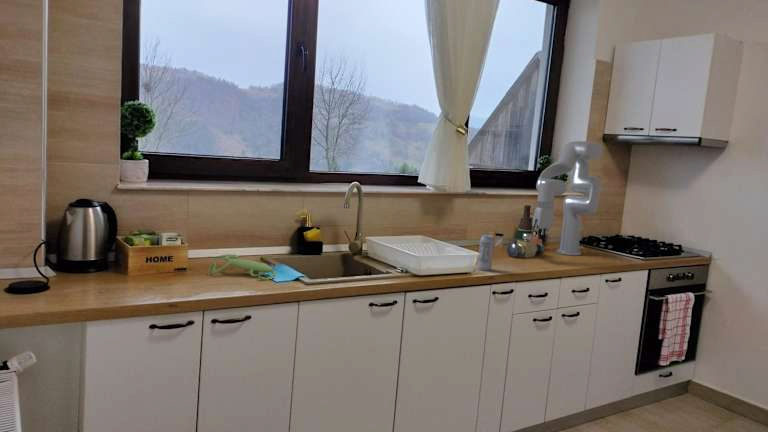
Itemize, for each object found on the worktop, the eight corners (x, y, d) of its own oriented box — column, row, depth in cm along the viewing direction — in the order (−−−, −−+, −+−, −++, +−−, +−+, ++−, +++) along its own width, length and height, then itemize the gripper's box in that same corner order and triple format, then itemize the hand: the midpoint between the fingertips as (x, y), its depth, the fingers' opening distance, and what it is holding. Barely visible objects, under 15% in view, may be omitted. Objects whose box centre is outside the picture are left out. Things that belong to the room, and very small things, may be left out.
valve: (533, 253, 311) (534, 237, 310) (543, 256, 305) (545, 239, 304) (506, 255, 299) (507, 238, 298) (516, 258, 294) (518, 241, 292)
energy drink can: (493, 270, 262) (497, 236, 261) (485, 271, 258) (488, 237, 257) (483, 267, 267) (486, 234, 265) (474, 268, 263) (477, 235, 261)
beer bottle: (531, 251, 319) (536, 206, 316) (517, 249, 319) (522, 205, 316) (528, 248, 327) (533, 205, 324) (514, 247, 327) (519, 204, 324)
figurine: (219, 265, 235) (219, 251, 234) (285, 271, 232) (285, 257, 232) (199, 275, 217) (200, 260, 216) (271, 282, 214) (271, 267, 213)
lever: (529, 238, 303) (529, 233, 303) (543, 244, 286) (543, 239, 286) (521, 237, 303) (521, 232, 302) (534, 244, 285) (534, 239, 285)
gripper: (549, 204, 296) (545, 240, 299) (528, 204, 288) (524, 241, 290) (561, 206, 290) (557, 243, 293) (540, 206, 282) (536, 244, 284)
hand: (541, 242), depth 292 cm, fingers closed
